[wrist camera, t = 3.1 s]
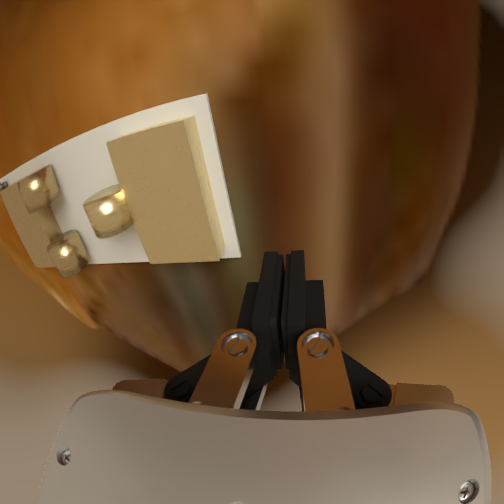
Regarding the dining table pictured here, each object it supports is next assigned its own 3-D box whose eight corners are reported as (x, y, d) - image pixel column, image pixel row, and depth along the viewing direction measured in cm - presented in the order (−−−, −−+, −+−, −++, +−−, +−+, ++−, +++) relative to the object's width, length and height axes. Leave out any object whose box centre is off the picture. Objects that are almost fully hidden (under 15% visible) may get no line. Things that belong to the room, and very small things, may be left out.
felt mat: (1, 178, 24) (-1, 179, 24) (207, 93, 18) (206, 93, 17) (41, 264, 33) (39, 266, 32) (241, 254, 26) (240, 257, 26)
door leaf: (86, 147, 21) (56, 164, 17) (194, 115, 19) (172, 125, 15) (126, 251, 28) (106, 277, 24) (225, 245, 25) (214, 276, 22)
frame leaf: (11, 183, 24) (-11, 199, 20) (57, 160, 22) (29, 177, 18) (45, 257, 31) (28, 276, 27) (96, 253, 29) (76, 277, 25)
